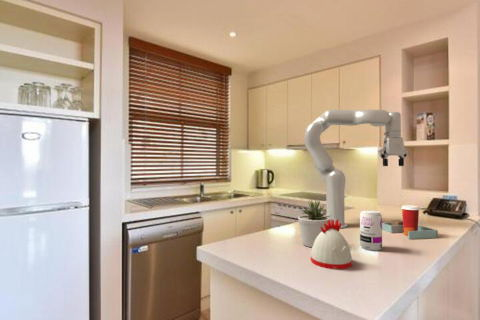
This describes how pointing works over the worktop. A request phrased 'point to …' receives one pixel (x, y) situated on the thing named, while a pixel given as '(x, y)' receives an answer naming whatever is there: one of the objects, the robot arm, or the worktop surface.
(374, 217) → the supplement can
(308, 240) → the potted plant
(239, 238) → the worktop surface
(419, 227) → the caddy
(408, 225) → the paper cup
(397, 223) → the walnut block
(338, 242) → the white crested dome
